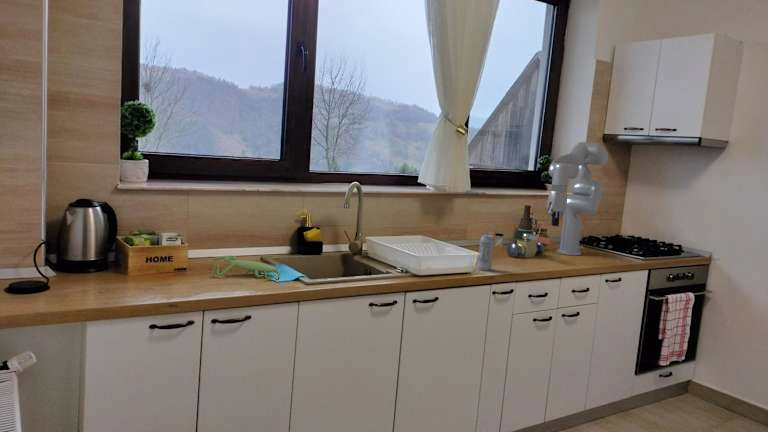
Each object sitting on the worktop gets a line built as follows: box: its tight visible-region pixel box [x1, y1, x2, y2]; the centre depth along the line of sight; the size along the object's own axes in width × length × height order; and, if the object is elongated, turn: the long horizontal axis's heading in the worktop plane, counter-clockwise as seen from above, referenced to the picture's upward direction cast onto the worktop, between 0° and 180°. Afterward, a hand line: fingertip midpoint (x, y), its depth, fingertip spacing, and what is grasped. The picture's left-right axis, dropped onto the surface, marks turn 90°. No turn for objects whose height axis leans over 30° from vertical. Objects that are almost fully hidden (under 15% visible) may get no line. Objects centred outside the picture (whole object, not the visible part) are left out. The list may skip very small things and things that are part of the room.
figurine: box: [212, 255, 281, 281], centre depth 223 cm, size 18×27×6 cm
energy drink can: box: [477, 234, 495, 272], centre depth 262 cm, size 6×6×15 cm
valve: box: [506, 239, 545, 259], centre depth 302 cm, size 20×7×9 cm, turn 125°
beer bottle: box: [515, 204, 534, 244], centre depth 321 cm, size 8×8×24 cm
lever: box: [523, 233, 555, 245], centre depth 295 cm, size 4×18×2 cm, turn 35°
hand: (554, 225), depth 294 cm, fingers closed
